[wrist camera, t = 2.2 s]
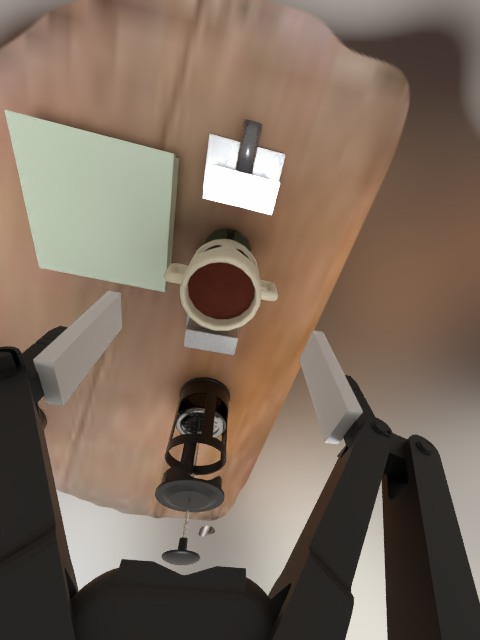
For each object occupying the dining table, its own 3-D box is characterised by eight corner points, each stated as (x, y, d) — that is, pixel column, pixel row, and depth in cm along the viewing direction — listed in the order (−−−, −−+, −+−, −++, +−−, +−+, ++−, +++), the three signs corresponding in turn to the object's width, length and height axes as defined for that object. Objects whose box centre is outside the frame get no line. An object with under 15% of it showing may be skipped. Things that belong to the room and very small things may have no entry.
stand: (60, 257, 32) (39, 267, 29) (37, 118, 24) (4, 109, 21) (172, 279, 34) (164, 292, 30) (182, 155, 26) (173, 153, 23)
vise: (186, 321, 37) (173, 361, 30) (212, 119, 25) (200, 97, 17) (237, 331, 38) (237, 371, 31) (287, 141, 26) (308, 128, 18)
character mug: (274, 234, 31) (294, 270, 19) (260, 285, 34) (271, 340, 23) (187, 215, 29) (156, 242, 18) (182, 270, 33) (154, 321, 22)
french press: (190, 368, 42) (148, 538, 23) (239, 384, 44) (239, 552, 25) (171, 408, 48) (125, 573, 28) (215, 421, 50) (201, 582, 31)
